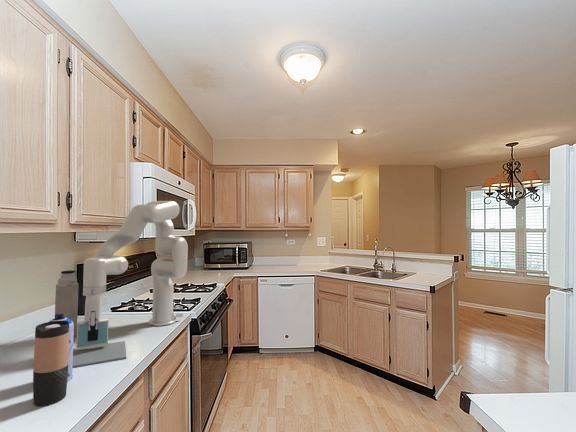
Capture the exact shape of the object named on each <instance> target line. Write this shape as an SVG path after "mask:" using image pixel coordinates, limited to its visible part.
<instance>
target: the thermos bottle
mask: <svg viewBox="0 0 576 432" xmlns="http://www.w3.org/2000/svg"><path fill="white" fill-rule="evenodd" d="M75 272H76V271H75V270H72V269H71V270H70V269H69V270H61V272H60V278H58V279H57V284H56V285H55V297H54V298H55V301H54V315H55V314H64V317H66V318H69V319H70V320H71V321H73V324H74V336H73V338H76V337H77V323H78V317H79V315H78V313H79V312H78V311H79V308H78V307H79V282H78V278H77V277H75V275H76V273H75Z"/></svg>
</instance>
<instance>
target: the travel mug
mask: <svg viewBox="0 0 576 432" xmlns="http://www.w3.org/2000/svg"><path fill="white" fill-rule="evenodd" d="M33 348H34V350H33V367H32V368H33V369H32V370H33V371H32V373H33V374H32V377H33V379H32V386H33V387H32V390H33V391H32V393H33V394H32V397H33V398H32V399H33V401H32V402H33V403H32V404H33V405H34V406H36V407H45V406H46V407H47V406H50V405H54V404H57V403H59V402H60V401H61V402H62V400H64V399H65V398H66V396H67V388H68V387H67V386H68V382H67V376H68V358H69V322H68V321H52V322H49V321H47V322H43V323H40V324H37V325H36V326H35V331H34V347H33Z"/></svg>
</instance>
